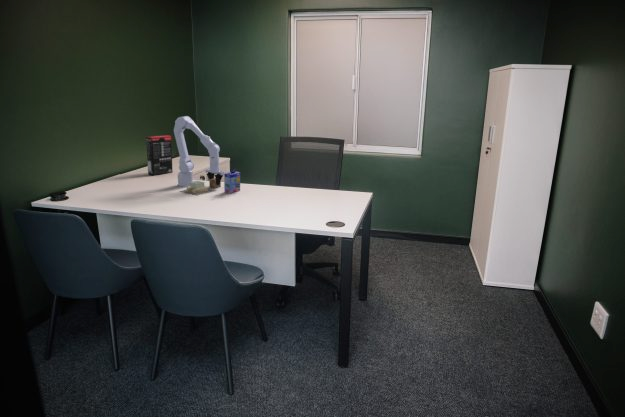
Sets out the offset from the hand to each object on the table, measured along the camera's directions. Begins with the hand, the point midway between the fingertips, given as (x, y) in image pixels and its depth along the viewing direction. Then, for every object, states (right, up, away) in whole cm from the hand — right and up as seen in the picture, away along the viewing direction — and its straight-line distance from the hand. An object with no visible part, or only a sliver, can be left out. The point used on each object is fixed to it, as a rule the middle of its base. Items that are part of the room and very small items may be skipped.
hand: (215, 184), depth 285 cm
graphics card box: (-48, +10, +37) cm, 61 cm away
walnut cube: (0, -1, 0) cm, 1 cm away
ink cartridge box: (+13, -5, -10) cm, 17 cm away
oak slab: (-8, -5, -12) cm, 15 cm away
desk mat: (-8, -5, -12) cm, 15 cm away
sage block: (-8, -2, -12) cm, 15 cm away
